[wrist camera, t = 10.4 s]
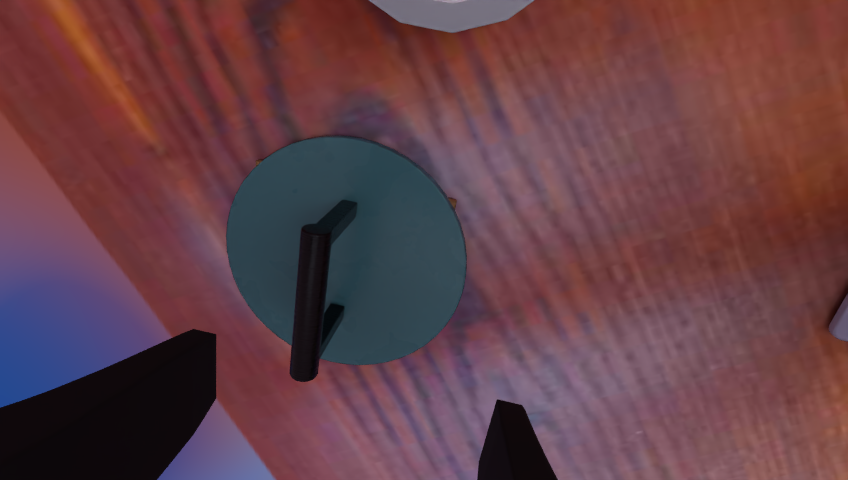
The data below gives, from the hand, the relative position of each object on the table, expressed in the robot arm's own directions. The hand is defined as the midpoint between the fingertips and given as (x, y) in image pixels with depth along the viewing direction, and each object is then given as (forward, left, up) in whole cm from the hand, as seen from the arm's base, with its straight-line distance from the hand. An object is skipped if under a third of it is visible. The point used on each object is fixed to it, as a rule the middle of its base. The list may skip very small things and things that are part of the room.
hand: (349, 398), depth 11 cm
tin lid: (+3, +1, -9) cm, 10 cm away
